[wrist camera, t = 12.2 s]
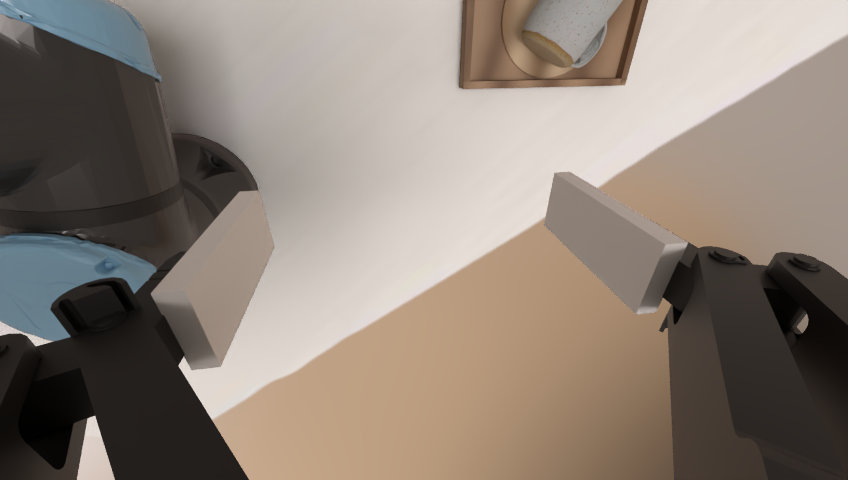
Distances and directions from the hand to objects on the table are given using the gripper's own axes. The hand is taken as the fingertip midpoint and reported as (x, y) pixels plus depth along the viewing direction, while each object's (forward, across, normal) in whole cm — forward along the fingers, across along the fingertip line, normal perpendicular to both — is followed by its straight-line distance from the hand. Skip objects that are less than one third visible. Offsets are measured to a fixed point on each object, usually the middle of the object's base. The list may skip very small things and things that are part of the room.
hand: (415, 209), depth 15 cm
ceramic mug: (+31, +22, +9) cm, 39 cm away
